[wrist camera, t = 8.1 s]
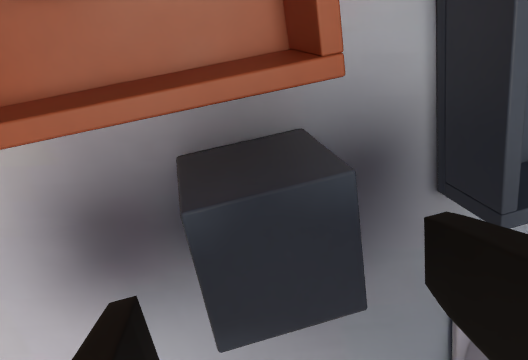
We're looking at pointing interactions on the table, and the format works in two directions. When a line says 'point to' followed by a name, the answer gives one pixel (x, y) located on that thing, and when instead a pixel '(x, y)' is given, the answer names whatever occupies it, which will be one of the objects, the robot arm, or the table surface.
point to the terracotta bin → (152, 58)
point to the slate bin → (484, 107)
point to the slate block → (272, 236)
